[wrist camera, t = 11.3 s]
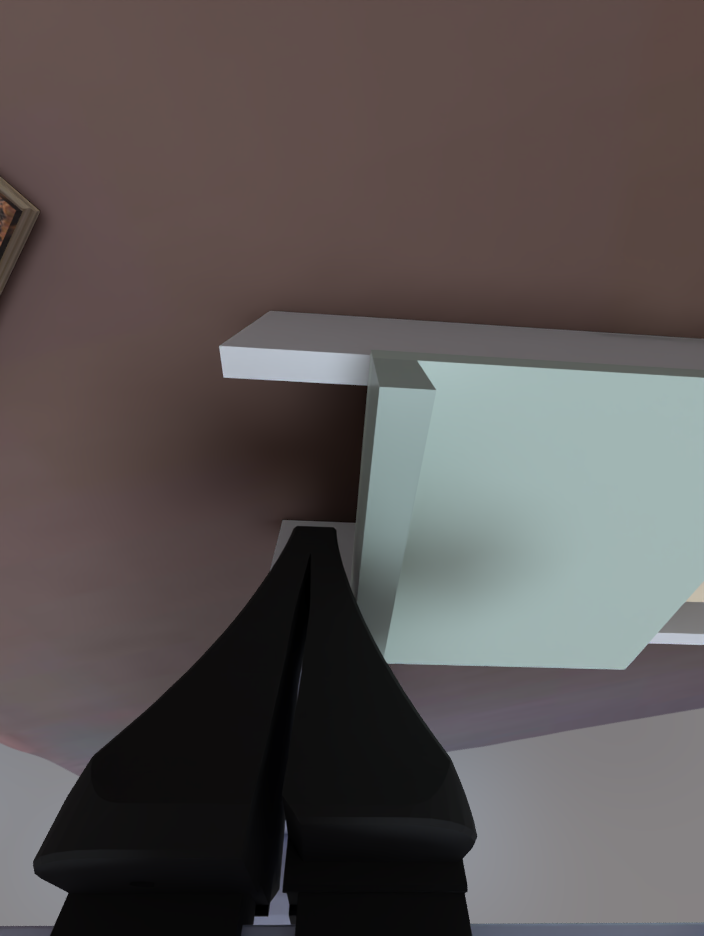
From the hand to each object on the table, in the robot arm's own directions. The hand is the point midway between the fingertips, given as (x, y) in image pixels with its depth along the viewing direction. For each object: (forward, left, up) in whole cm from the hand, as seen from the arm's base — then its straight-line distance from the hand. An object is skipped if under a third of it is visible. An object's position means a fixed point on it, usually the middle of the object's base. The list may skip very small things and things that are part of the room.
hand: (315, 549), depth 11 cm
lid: (0, -7, -1) cm, 7 cm away
